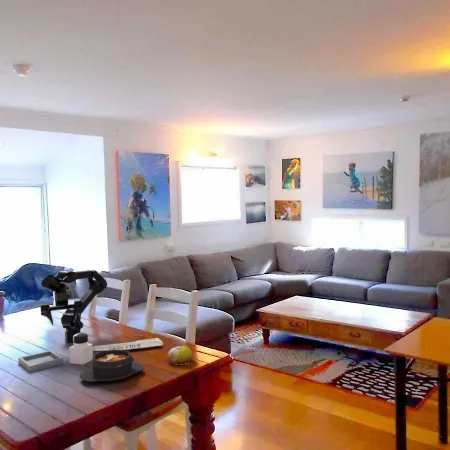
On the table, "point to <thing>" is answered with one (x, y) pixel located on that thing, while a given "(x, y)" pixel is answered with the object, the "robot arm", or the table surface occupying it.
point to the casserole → (111, 366)
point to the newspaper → (129, 345)
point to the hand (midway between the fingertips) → (63, 323)
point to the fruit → (179, 355)
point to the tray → (40, 361)
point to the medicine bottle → (81, 349)
